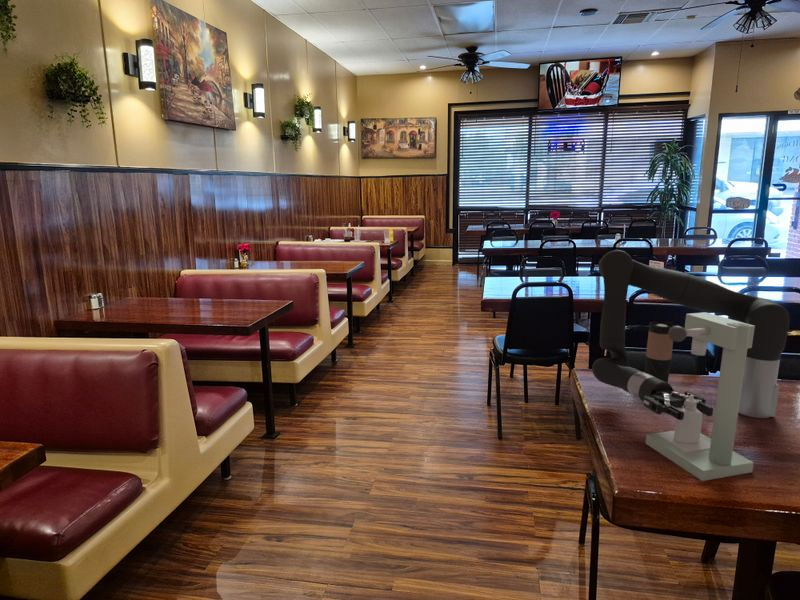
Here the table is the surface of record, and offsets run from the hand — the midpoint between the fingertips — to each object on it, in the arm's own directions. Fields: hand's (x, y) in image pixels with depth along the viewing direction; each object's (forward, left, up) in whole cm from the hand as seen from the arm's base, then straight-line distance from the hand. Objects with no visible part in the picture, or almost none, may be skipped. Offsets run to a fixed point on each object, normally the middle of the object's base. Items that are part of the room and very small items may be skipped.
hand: (697, 414), depth 123 cm
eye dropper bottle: (+1, -2, -8) cm, 8 cm away
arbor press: (+2, +2, -11) cm, 11 cm away
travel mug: (-6, -52, -11) cm, 53 cm away
